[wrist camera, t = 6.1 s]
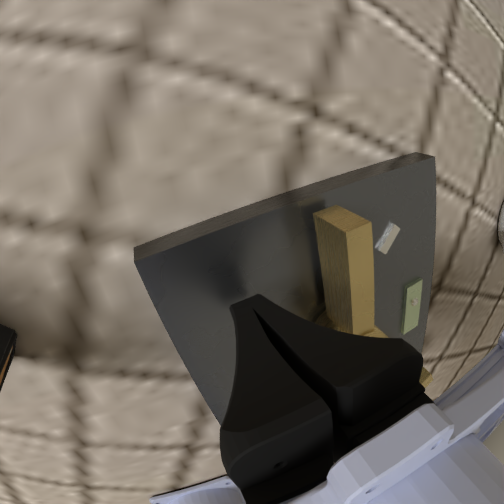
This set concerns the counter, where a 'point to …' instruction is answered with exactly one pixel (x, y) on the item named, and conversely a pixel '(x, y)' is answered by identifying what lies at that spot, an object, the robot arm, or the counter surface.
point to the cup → (501, 227)
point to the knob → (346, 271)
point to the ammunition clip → (6, 350)
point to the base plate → (292, 264)
